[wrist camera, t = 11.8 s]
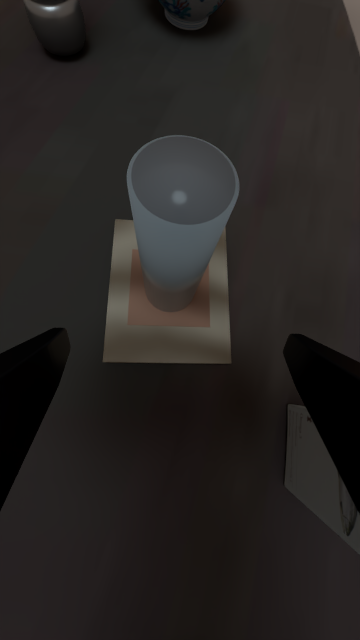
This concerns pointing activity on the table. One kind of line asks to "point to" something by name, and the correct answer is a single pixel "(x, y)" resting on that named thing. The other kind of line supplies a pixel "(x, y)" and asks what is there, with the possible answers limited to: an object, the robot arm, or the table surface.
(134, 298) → the beige flat rectangular panel
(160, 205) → the grey flared tumbler
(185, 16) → the chinaware
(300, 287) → the table surface
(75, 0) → the plastic bottle
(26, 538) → the table surface
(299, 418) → the supplement box
